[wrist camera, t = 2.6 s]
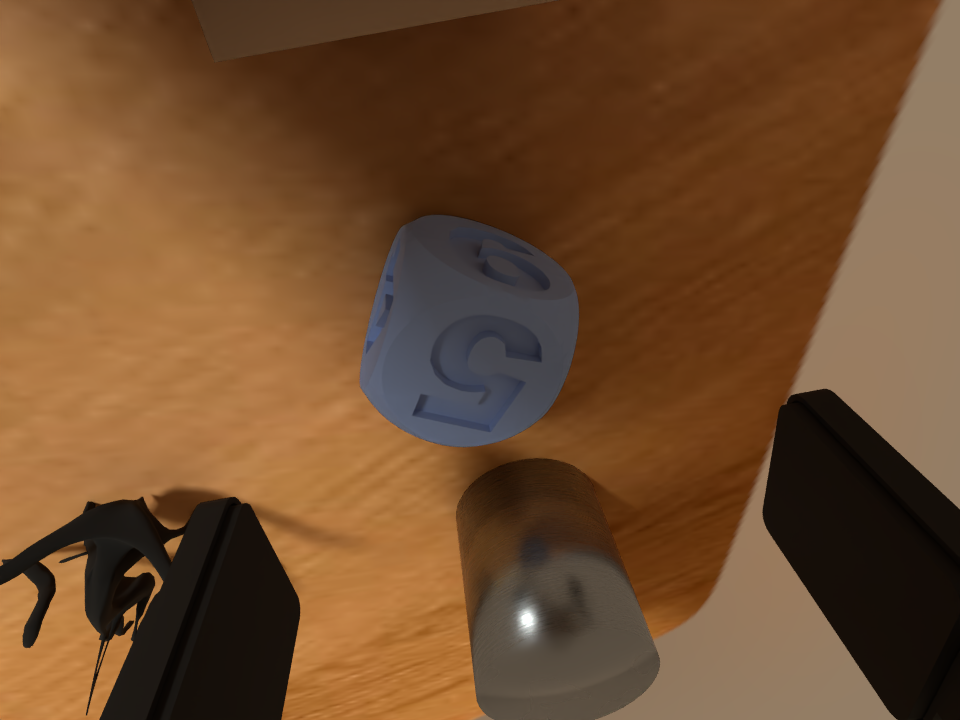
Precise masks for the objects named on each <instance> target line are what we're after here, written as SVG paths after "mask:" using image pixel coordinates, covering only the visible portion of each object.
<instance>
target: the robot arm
mask: <svg viewBox="0 0 960 720" xmlns="http://www.w3.org/2000/svg"><path fill="white" fill-rule="evenodd" d="M763 519H764V523H765V526H766V528H767V530H768V531H769V533H770V535H771V536H772V538H773V539H774V540H775V542H776V544H777V545H778V547H779V548H780V550H781V551H782V553H783V554H784V556H785V557H786V559H787V560H788V562H789V563H790V565H791V566H792V568H793V569H794V571H795V572H796V573H797V575H798V576H799V578H800V579H801V581H802V582H803V584H804V585H805V587H806V588H807V590H808V591H809V593H810V594H811V596H812V597H813V599H814V600H815V602H816V603H817V605H818V606H819V608H820V609H821V611H822V612H823V614H824V615H825V617H826V618H827V620H828V621H829V623H830V624H831V626H832V627H833V629H834V630H835V631H836V633H837V635H838V636H839V638H840V639H841V641H842V642H843V644H844V645H845V646H846V648H847V650H848V651H849V652H850V654H851V656H852V657H853V658H854V660H855V662H856V663H857V665H858V666H859V668H860V669H861V671H862V672H863V673H864V675H865V677H866V678H867V680H868V681H869V682H870V684H871V685H872V687H873V688H874V690H875V691H876V693H877V694H878V696H879V697H880V699H881V700H882V702H883V703H884V705H885V706H886V708H887V709H888V710H889V712H890V713H891V714H892V715H893V716H894V717H895V718H896V719H897V720H960V509H959V508H958V507H957V506H955V505H954V504H953V503H952V502H951V501H950V500H949V499H948V498H947V497H946V496H945V495H944V494H942V492H940V491H939V490H938V489H937V488H936V487H935V486H934V485H933V484H932V483H931V482H930V481H929V480H927V479H926V478H925V477H924V476H923V475H922V474H921V473H920V472H919V471H918V470H917V469H916V468H915V467H914V466H913V465H911V464H910V463H909V462H908V461H907V460H906V459H905V458H904V457H903V456H902V455H901V454H900V453H899V452H897V451H896V450H895V449H894V448H893V447H892V446H891V445H890V444H889V443H888V442H887V441H885V440H884V439H883V438H882V437H881V436H880V435H879V434H878V433H877V432H876V431H875V430H874V429H873V428H872V427H871V426H870V425H868V424H867V423H866V422H865V421H864V420H863V419H862V418H861V417H860V416H859V415H858V414H856V413H855V412H854V411H853V410H852V409H851V408H850V407H849V406H848V405H847V404H846V403H845V402H844V401H842V399H840V398H839V397H838V396H837V395H836V394H835V393H834V392H832V391H831V390H828V389H821V390H816V391H810V392H804V393H799V394H795V395H791V396H790V397H789V399H788V401H787V404H786V405H782V406H781V407H780V409H779V413H778V419H777V425H776V432H775V438H774V444H773V450H772V456H771V462H770V468H769V475H768V480H767V486H766V493H765V499H764V505H763ZM299 619H300V603H299V598H298V596H297V594H296V592H295V590H294V588H293V586H292V584H291V582H290V580H289V578H288V576H287V574H286V572H285V571H284V569H283V567H282V565H281V563H280V561H279V559H278V557H277V555H276V553H275V551H274V549H273V548H272V546H271V544H270V542H269V540H268V538H267V536H266V534H265V532H264V530H263V528H262V526H261V525H260V523H259V521H258V519H257V517H256V515H255V513H254V511H253V509H252V507H251V506H250V505H249V504H248V503H243V504H241V502H240V501H239V500H238V499H237V498H236V497H229V498H224V499H218V500H213V501H207V502H202V503H200V504H198V505H197V507H196V508H195V510H194V512H193V515H192V517H191V519H190V522H189V524H188V526H187V529H186V531H185V533H184V536H183V538H182V540H181V543H180V545H179V547H178V550H177V552H176V554H175V557H174V559H173V561H172V564H171V566H170V568H169V571H168V573H167V575H166V578H165V580H164V582H163V585H162V587H161V589H160V591H159V592H158V593H157V594H156V595H155V596H154V598H153V600H152V601H151V603H150V605H149V607H148V609H147V611H146V614H145V616H144V618H143V621H142V623H141V625H140V628H139V630H138V632H137V634H136V637H135V639H134V641H133V644H132V646H131V648H130V651H129V653H128V655H127V657H126V660H125V662H124V664H123V667H122V669H121V671H120V674H119V676H118V678H117V680H116V683H115V685H114V687H113V690H112V692H111V694H110V696H109V699H108V701H107V703H106V706H105V708H104V710H103V713H102V715H101V717H100V719H99V720H281V718H282V712H283V707H284V701H285V696H286V690H287V685H288V680H289V674H290V669H291V663H292V658H293V652H294V647H295V641H296V636H297V630H298V625H299Z"/></svg>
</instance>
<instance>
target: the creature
mask: <svg viewBox="0 0 960 720" xmlns="http://www.w3.org/2000/svg"><path fill="white" fill-rule="evenodd" d="M192 515H193V514H192ZM192 515H191V517H192ZM191 517H190V519H191ZM190 519H189V520H188V522H187V523H186V525H185V526H184V527H182V528H179V529H177V530H169V529H167V528H166V527H164V526H163V525H162V524H161V523H160V522H159V521H158V520H157V519H156V518H155V517H154V516H153V515H152V513H151V512H150V511H149V509H148V508H147V505H146V503H145V501H144V498H143V497H141V498H139V499H138V500H118V501H113V502H110V503H106V504H102V505H100V506H97V507H95V505H94V504H93V502H89V501H88V502H87V504H86V507H85V509H84V511H83V514H81V515H80V516H78V517H77V518H75V519H74V520H72V521H71V522H69V523H68V524H66V525H65V526H63V527H61V528H59V529H58V530H56V531H54V532H53V533H51V534H49V535H48V536H46V537H44V538H43V539H41V540H39V541H38V542H36V543H35V544H33V545H31V546H30V547H28V548H27V549H26V550H24V551H23V552H21V553H20V554H19V555H17V556H16V557H15V558H13V559H7V560H2V562H3V565H2V566H0V585H2V584H4V583H6V582H8V581H10V580H11V579H13V578H15V577H17V576H18V575H20V574H21V573H24V574H25V575H26V576H27V577H28V578H29V579H30V580H31V581H32V582H33V583H34V584H35V585H36V586H37V589H38V591H39V593H38V601H37V604H36V606H35V608H34V610H33V612H32V614H31V616H30V618H29V619H28V621H27V623H26V625H25V627H24V634H23V646H24V648H30V647H31V646H33V644H34V643H35V641H36V639H37V637H38V634H39V631H40V628H41V624H42V621H43V618H44V616H45V614H46V612H47V610H48V608H49V604H50V602H51V600H52V598H53V596H54V594H55V592H56V584H55V577H54V575H53V574H52V573H51V572H50V570H49V569H48V568H47V567H46V566H44V565H43V564H42V563H40V562H39V561H40V560H42V559H43V558H45V557H46V556H48V555H50V554H51V553H53V552H55V551H57V550H59V549H61V548H63V547H66V546H68V545H71V544H73V543H77V542H80V541H84V546H85V547H86V550H87V552H84V553H81V554H78V555H75V556H72V557H69V558H66V559H64V560H61V561H60V562H59V563H64V562H67V561H69V560H72V559H75V558H77V557H80V556H83V555H87V554H88V559H87V564H86V569H85V611H86V615H87V617H88V619H89V621H90V622H91V624H92V625H93V627H94V628H95V629H96V630H97V631H98V632H99V633H100V634H101V635H100V638H99V640H102V641H101V646H100V650H99V655H98V660H97V664H96V669H95V673H94V678H93V683H92V687H91V692H90V697H89V702H88V707H87V712H86V715H87V713H88V709H89V705H90V701H91V697H92V694H93V690H94V686H95V683H96V680H97V676H98V673H99V670H100V667H101V664H102V661H103V657H104V654H105V651H106V649H107V646H108V643H109V640H111V639H112V638H113V636H114V634H116V635H118V636H121V635H124V634H125V633H126V631H127V630H128V629H129V628H130V627H131V626H132V624H133V623H134V621H129V622H128V623H127V624H126V626H125V627H124V616H123V614H124V613H125V612H126V611H127V610H128V609H130V608H131V607H133V606H134V605H135V604H137V608H136V621H135V627H134V631H133V634H132V638H131V640H132V641H134V639H135V637H136V634H137V632H138V630H139V628H140V625H141V623H142V621H143V619H142V621H141V623H140V625H139V628H138V630H137V625H138V621H139V619H140V618H141V616H142V615H143V612H144V610H145V607H146V605H147V603H148V601H149V598H150V596H151V593H152V591H153V588H154V586H155V579H154V576H153V575H152V574H151V573H150V572H148V573H142V574H141V575H139V576H138V577H125V576H124V574H125V572H127V571H128V570H129V569H130V568H131V567H132V566H133V565H134V564H135V563H137V562H138V561H139V560H140V559H141V558H142V557H144V556H146V557H147V559H148V560H149V561H150V562H151V563H152V565H153V566H154V567H155V569H156V570H157V572H158V573H159V575H160V577H161V578H162V580H163V582H164V580H165V578H166V575H167V573H168V571H169V568H170V566H171V564H172V562H171V560H170V558H169V556H168V554H167V551H166V549H165V547H164V544H165V543H166V542H168V541H169V540H171V539H172V538H175V537H178V536H180V535H183V534H184V533H185V531H186V529H187V526H188V524H189V522H190ZM123 628H124V629H123ZM105 641H108V642H107V645H106V648H105V651H104V654H103V657H102V660H101V663H100V665H99V668H98V671H97V667H98V663H99V659H100V656H101V652H102V649H103V646H104V643H105ZM96 672H97V673H96Z"/></svg>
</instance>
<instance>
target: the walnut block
mask: <svg viewBox="0 0 960 720" xmlns="http://www.w3.org/2000/svg"><path fill="white" fill-rule="evenodd" d="M552 1H557V0H192V3H193V6H194V8H195V11H196V14H197V17H198V19H199V22H200V25H201V27H202V30H203V33H204V36H205V38H206V41H207V44H208V46H209V49H210V52H211V55H212V57H213V60H214V62H220V61H225V60H231V59H236V58H242V57H248V56H253V55H259V54H264V53H270V52H275V51H281V50H286V49H292V48H297V47H303V46H308V45H314V44H319V43H325V42H330V41H336V40H342V39H347V38H353V37H358V36H364V35H369V34H375V33H380V32H386V31H391V30H397V29H402V28H408V27H413V26H419V25H424V24H430V23H436V22H441V21H447V20H452V19H458V18H463V17H469V16H474V15H480V14H485V13H491V12H496V11H502V10H507V9H513V8H518V7H524V6H530V5H535V4H541V3H546V2H552Z"/></svg>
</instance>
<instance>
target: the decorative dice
mask: <svg viewBox="0 0 960 720" xmlns="http://www.w3.org/2000/svg"><path fill="white" fill-rule="evenodd" d="M578 326H579V305H578V297H577V293H576V290H575V287H574V284H573V282H572V280H571V278H570V276H569V275H568V274H567V272H566V271H565V270H564V269H563V268H562V267H561V266H560V265H559V264H558V263H557V262H556V261H554V260H553V259H552V258H550V257H549V256H548V255H546V254H545V253H543V252H542V251H540V250H539V249H537V248H536V247H534V246H532V245H531V244H529V243H527V242H525V241H523V240H521V239H519V238H517V237H515V236H513V235H511V234H509V233H506V232H504V231H502V230H499V229H497V228H494V227H491V226H489V225H486V224H483V223H480V222H476V221H473V220H469V219H465V218H460V217H455V216H447V215H428V216H423V217H420V218H418V219H416V220H414V221H412V222H410V223H408V224H406V225H404V226H402V227H401V228H400V230H399V231H398V233H397V235H396V237H395V239H394V241H393V244H392V246H391V249H390V252H389V254H388V257H387V260H386V263H385V266H384V269H383V272H382V275H381V279H380V282H379V285H378V289H377V292H376V296H375V300H374V304H373V308H372V312H371V316H370V320H369V324H368V329H367V333H366V338H365V343H364V349H363V355H362V361H361V369H360V387H361V389H362V390H363V392H364V393H365V395H366V396H367V398H368V399H369V401H370V402H371V403H372V404H373V405H374V407H375V408H376V409H377V410H378V411H379V412H380V413H381V414H382V415H383V416H384V417H385V418H386V419H388V420H389V421H390V422H391V423H393V424H394V425H396V426H397V427H399V428H400V429H402V430H404V431H406V432H408V433H410V434H411V435H414V436H416V437H418V438H421V439H423V440H426V441H429V442H433V443H436V444H440V445H446V446H453V447H473V446H481V445H487V444H491V443H495V442H499V441H502V440H505V439H507V438H510V437H512V436H515V435H516V434H518V433H520V432H522V431H524V430H525V429H527V428H529V427H530V426H531V425H533V424H534V423H535V422H537V421H538V420H539V419H541V418H542V417H543V416H544V415H545V414H546V413H547V411H548V410H549V409H550V407H551V406H552V405H553V403H554V401H555V400H556V398H557V396H558V395H559V393H560V391H561V389H562V386H563V384H564V382H565V379H566V377H567V374H568V372H569V369H570V365H571V362H572V359H573V355H574V351H575V346H576V341H577V335H578Z"/></svg>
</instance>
